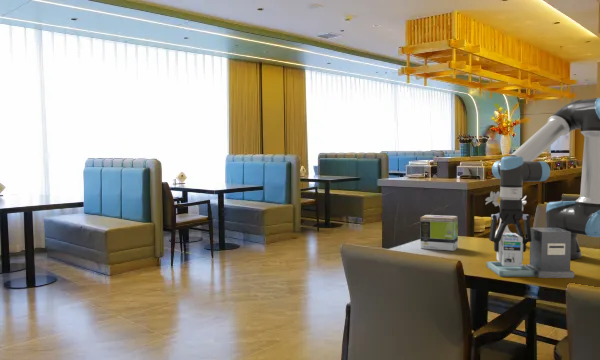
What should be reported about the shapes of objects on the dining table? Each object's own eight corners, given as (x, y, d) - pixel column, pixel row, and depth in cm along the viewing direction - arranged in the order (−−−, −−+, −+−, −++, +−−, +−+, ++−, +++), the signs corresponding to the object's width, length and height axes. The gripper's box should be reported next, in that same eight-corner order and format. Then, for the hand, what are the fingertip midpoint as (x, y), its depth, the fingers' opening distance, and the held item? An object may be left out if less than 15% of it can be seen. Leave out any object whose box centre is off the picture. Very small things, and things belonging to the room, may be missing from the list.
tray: (518, 266, 195) (518, 261, 195) (534, 276, 180) (534, 271, 180) (486, 266, 196) (486, 261, 196) (500, 276, 181) (500, 270, 181)
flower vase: (529, 246, 236) (530, 192, 234) (490, 246, 236) (491, 192, 234) (517, 240, 249) (518, 189, 247) (479, 241, 249) (480, 190, 247)
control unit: (558, 269, 190) (559, 227, 189) (574, 277, 178) (575, 232, 177) (525, 269, 191) (526, 227, 190) (539, 277, 179) (540, 232, 178)
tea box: (458, 247, 234) (458, 215, 233) (453, 251, 225) (454, 218, 224) (425, 245, 241) (425, 213, 240) (419, 248, 232) (420, 216, 231)
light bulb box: (522, 267, 182) (523, 237, 181) (502, 266, 183) (503, 236, 183) (515, 260, 193) (516, 232, 192) (497, 260, 194) (497, 231, 193)
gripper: (486, 199, 183) (485, 262, 185) (543, 199, 182) (541, 263, 184) (479, 197, 191) (478, 258, 192) (534, 197, 190) (533, 258, 191)
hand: (509, 260), depth 188 cm, fingers closed on light bulb box, 7 cm apart
